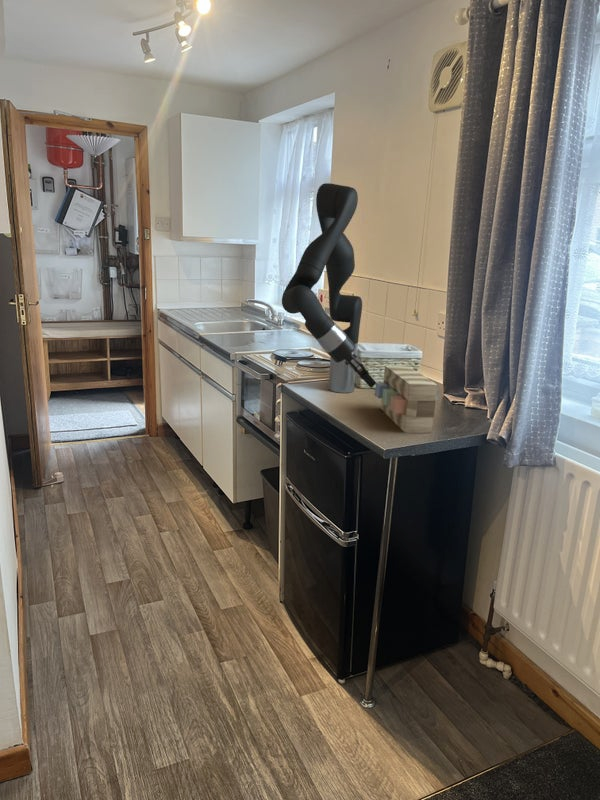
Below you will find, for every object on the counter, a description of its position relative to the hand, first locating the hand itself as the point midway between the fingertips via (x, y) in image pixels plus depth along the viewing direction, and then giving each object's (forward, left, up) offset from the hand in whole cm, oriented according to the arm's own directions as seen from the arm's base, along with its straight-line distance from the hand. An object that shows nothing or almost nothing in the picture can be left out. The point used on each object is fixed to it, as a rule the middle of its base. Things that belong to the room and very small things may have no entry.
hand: (373, 384), depth 172 cm
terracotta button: (+8, +5, -6) cm, 11 cm away
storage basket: (-44, +17, -11) cm, 49 cm away
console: (0, +11, -11) cm, 15 cm away
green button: (0, +5, -6) cm, 8 cm away
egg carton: (-27, +27, -11) cm, 40 cm away
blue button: (-8, +5, -6) cm, 11 cm away
